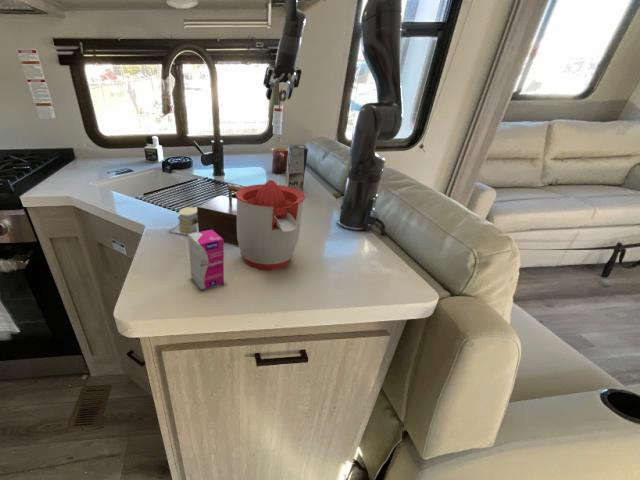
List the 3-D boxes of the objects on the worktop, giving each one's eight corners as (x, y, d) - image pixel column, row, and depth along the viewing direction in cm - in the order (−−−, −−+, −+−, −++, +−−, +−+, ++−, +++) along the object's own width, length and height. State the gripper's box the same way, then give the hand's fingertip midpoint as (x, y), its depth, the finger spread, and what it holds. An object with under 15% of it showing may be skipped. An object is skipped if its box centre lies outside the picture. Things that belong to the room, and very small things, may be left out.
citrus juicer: (254, 285, 73) (258, 196, 61) (226, 252, 86) (225, 174, 74) (312, 272, 78) (326, 188, 66) (277, 243, 91) (284, 168, 79)
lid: (220, 197, 99) (219, 180, 96) (261, 206, 93) (262, 187, 90) (197, 209, 90) (195, 190, 87) (240, 219, 84) (240, 199, 81)
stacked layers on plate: (196, 236, 94) (194, 218, 91) (169, 232, 97) (167, 214, 93) (211, 224, 101) (210, 207, 98) (186, 220, 104) (184, 203, 101)
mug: (269, 169, 160) (270, 147, 154) (287, 169, 160) (289, 147, 154) (271, 176, 150) (272, 152, 144) (289, 176, 150) (292, 152, 144)
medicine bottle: (146, 162, 170) (142, 137, 163) (151, 159, 176) (147, 134, 169) (158, 162, 169) (155, 137, 162) (163, 159, 175) (160, 135, 168)
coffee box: (303, 192, 130) (308, 148, 120) (287, 192, 130) (291, 148, 120) (300, 186, 137) (304, 144, 128) (284, 185, 137) (288, 144, 128)
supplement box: (201, 292, 70) (197, 244, 64) (191, 279, 75) (186, 233, 68) (225, 285, 73) (224, 238, 66) (213, 273, 77) (211, 228, 70)
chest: (219, 223, 103) (218, 198, 98) (258, 232, 97) (259, 207, 92) (198, 235, 95) (197, 209, 90) (240, 246, 89) (240, 219, 85)
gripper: (275, 53, 110) (265, 104, 123) (310, 53, 114) (297, 102, 127) (266, 44, 113) (257, 95, 126) (300, 45, 118) (289, 94, 131)
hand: (277, 98), depth 127 cm, fingers open, 8 cm apart
